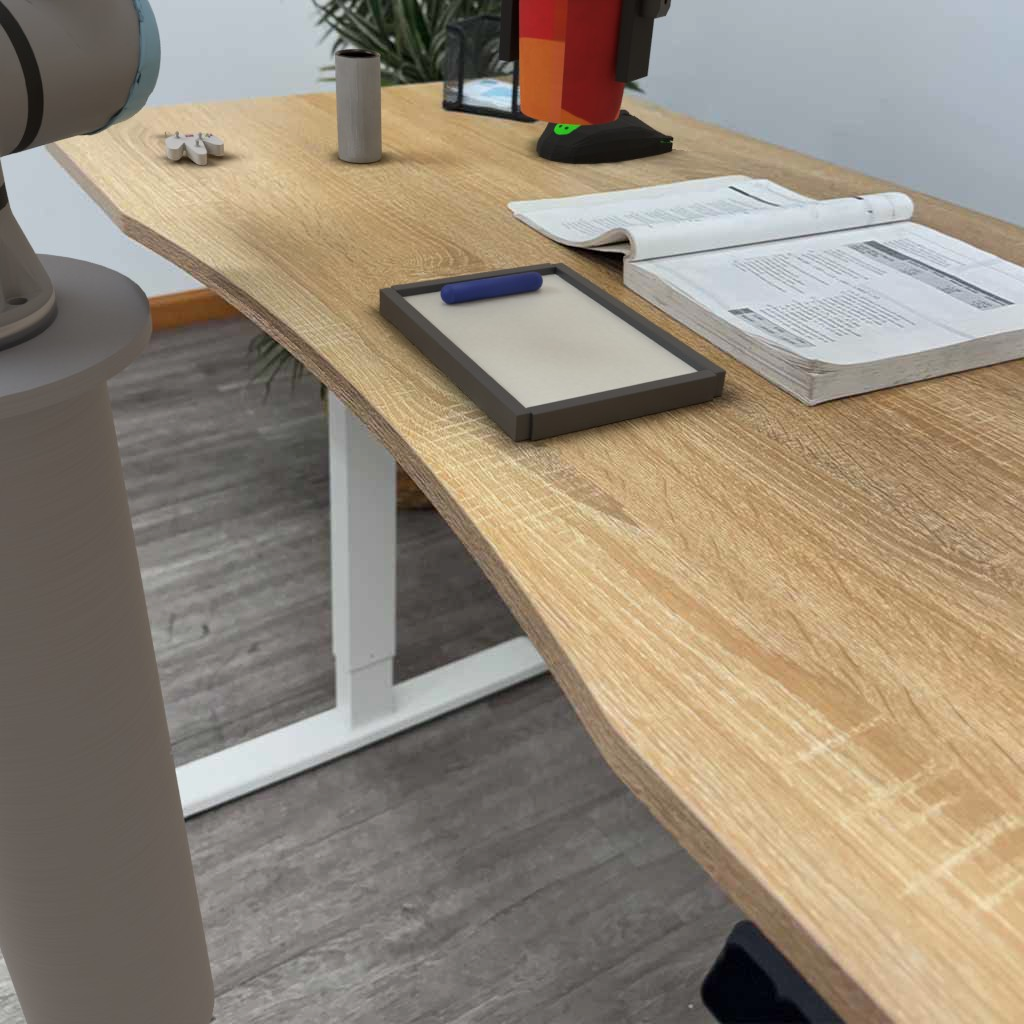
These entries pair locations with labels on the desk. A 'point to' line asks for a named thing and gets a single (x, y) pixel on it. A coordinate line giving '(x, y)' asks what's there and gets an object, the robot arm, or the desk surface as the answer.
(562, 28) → the coffee cup
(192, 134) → the game controller
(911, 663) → the desk surface
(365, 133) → the grey cylindrical container
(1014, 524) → the desk surface
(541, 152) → the computer mouse
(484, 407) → the whiteboard
